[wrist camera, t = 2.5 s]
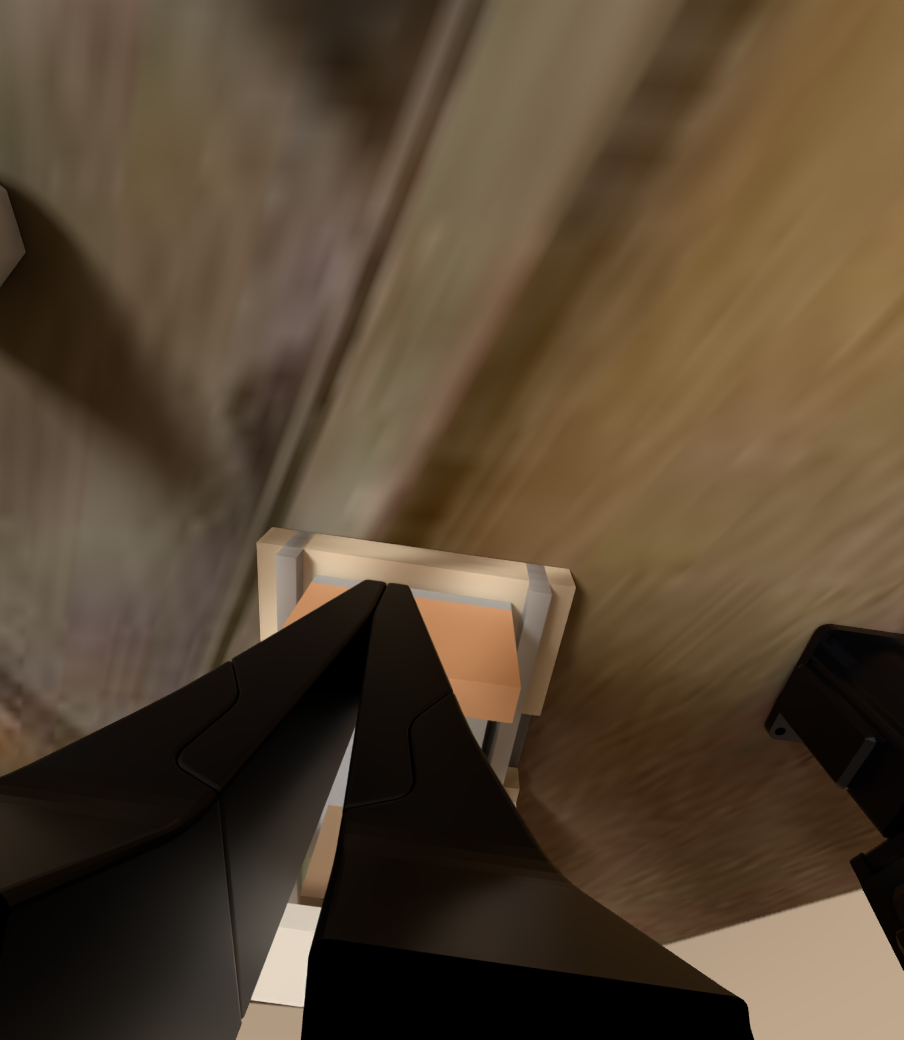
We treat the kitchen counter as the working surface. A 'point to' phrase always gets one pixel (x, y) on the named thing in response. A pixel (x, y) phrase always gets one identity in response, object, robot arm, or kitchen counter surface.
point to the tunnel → (289, 957)
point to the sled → (471, 672)
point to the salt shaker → (8, 238)
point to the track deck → (528, 587)
